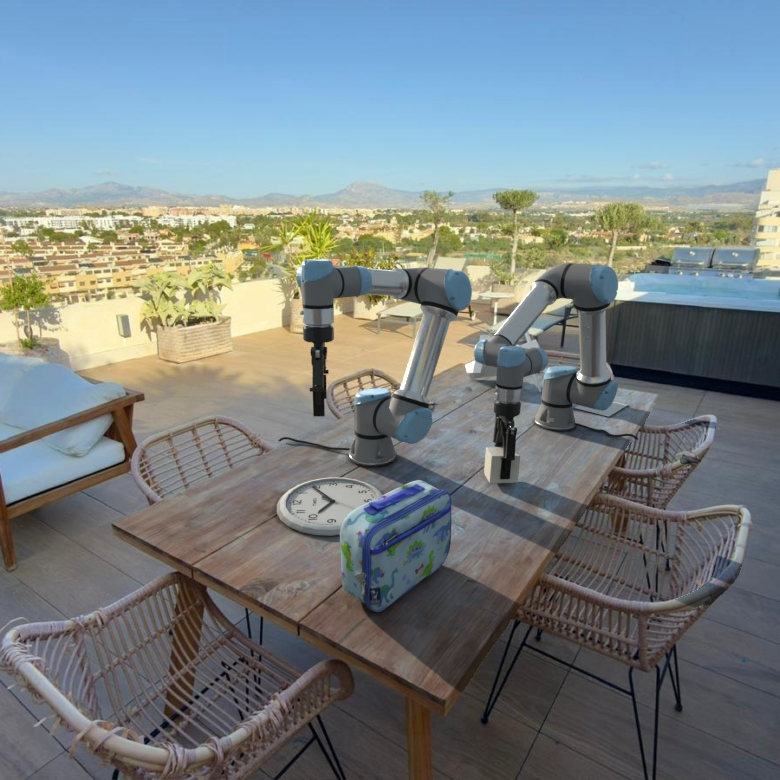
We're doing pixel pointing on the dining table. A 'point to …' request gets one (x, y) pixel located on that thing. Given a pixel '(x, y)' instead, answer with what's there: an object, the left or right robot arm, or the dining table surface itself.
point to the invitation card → (608, 412)
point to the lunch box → (394, 543)
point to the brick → (499, 466)
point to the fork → (432, 401)
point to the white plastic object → (482, 370)
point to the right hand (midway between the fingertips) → (501, 472)
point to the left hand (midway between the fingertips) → (320, 406)
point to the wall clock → (323, 504)
